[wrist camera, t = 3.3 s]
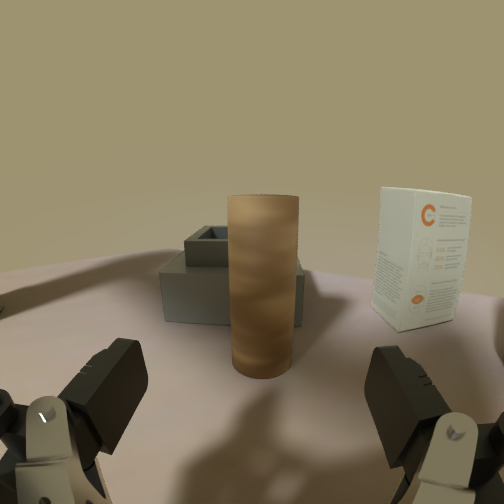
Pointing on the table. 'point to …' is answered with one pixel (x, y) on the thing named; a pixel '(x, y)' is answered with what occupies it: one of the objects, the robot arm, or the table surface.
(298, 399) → the table surface
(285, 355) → the cardboard roll
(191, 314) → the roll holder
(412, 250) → the small box
